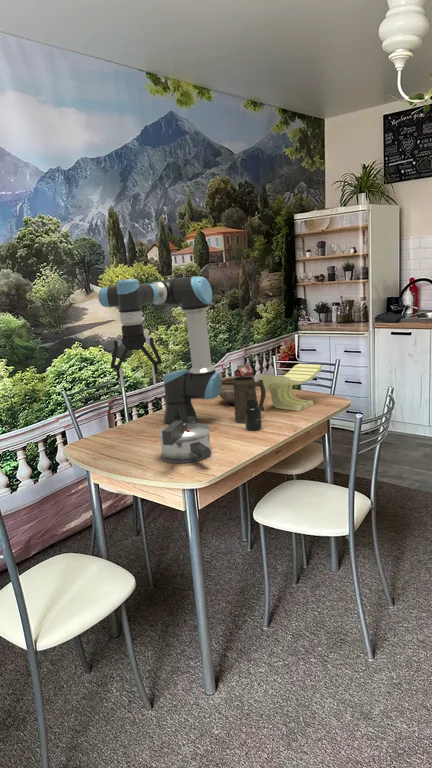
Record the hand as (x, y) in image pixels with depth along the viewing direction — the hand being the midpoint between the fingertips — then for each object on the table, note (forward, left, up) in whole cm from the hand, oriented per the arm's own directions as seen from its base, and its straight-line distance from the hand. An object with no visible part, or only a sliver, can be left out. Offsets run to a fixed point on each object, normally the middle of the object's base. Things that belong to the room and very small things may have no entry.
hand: (138, 385), depth 194 cm
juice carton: (-29, +70, -28) cm, 81 cm away
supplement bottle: (0, +51, -28) cm, 58 cm away
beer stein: (-13, +60, -28) cm, 67 cm away
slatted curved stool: (-16, +88, -28) cm, 94 cm away
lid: (+9, +10, -20) cm, 24 cm away
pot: (+10, +12, -28) cm, 32 cm away
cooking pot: (-44, +76, -28) cm, 92 cm away
